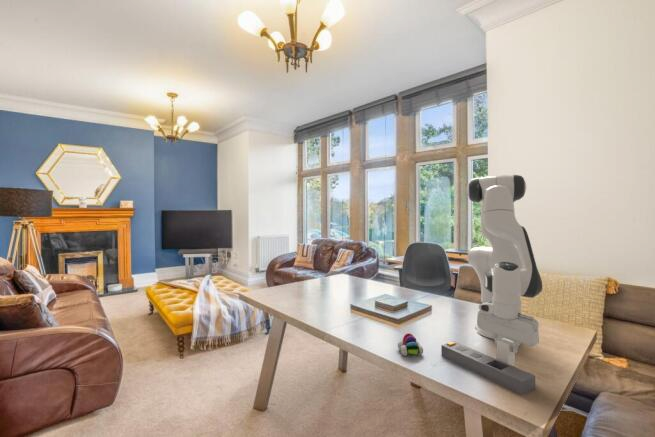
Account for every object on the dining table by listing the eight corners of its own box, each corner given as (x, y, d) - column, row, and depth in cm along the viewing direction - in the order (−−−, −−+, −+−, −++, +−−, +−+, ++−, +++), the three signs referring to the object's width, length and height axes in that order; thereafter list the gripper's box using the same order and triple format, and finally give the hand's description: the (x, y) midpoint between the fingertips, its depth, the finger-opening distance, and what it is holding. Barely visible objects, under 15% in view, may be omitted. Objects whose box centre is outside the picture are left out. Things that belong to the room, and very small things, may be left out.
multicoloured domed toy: (417, 347, 132) (417, 330, 131) (425, 358, 122) (425, 339, 122) (396, 347, 131) (396, 330, 131) (402, 359, 122) (402, 340, 121)
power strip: (453, 353, 125) (453, 339, 125) (535, 391, 99) (535, 373, 99) (441, 358, 122) (441, 343, 122) (522, 398, 96) (522, 379, 96)
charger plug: (503, 362, 115) (503, 337, 114) (514, 367, 111) (515, 341, 111) (496, 365, 113) (496, 340, 112) (507, 370, 109) (508, 344, 109)
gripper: (543, 316, 104) (542, 359, 104) (485, 301, 122) (484, 337, 122) (533, 320, 101) (532, 363, 101) (474, 303, 119) (474, 340, 119)
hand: (505, 349), depth 112 cm, fingers closed on charger plug, 4 cm apart
